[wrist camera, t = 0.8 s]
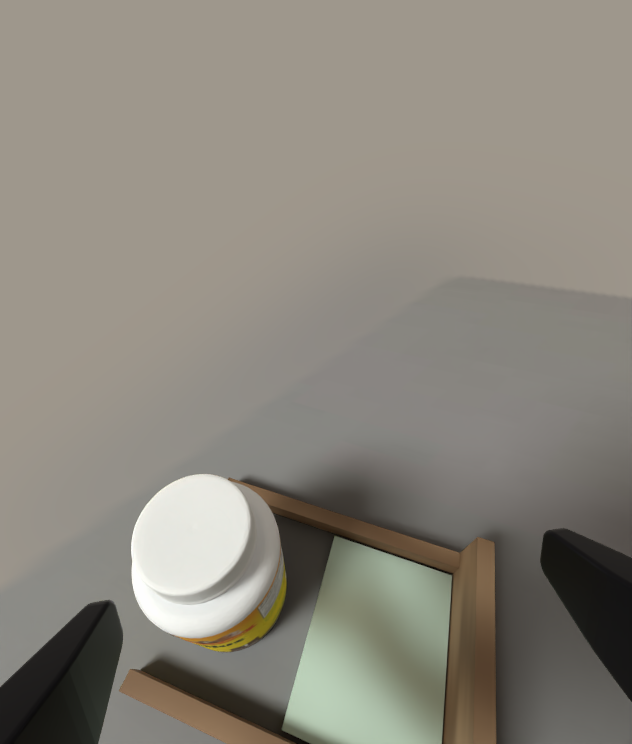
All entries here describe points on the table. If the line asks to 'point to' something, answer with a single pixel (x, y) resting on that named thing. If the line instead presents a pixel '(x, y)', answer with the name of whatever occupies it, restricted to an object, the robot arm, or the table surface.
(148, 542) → the supplement bottle
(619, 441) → the table surface
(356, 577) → the bay
